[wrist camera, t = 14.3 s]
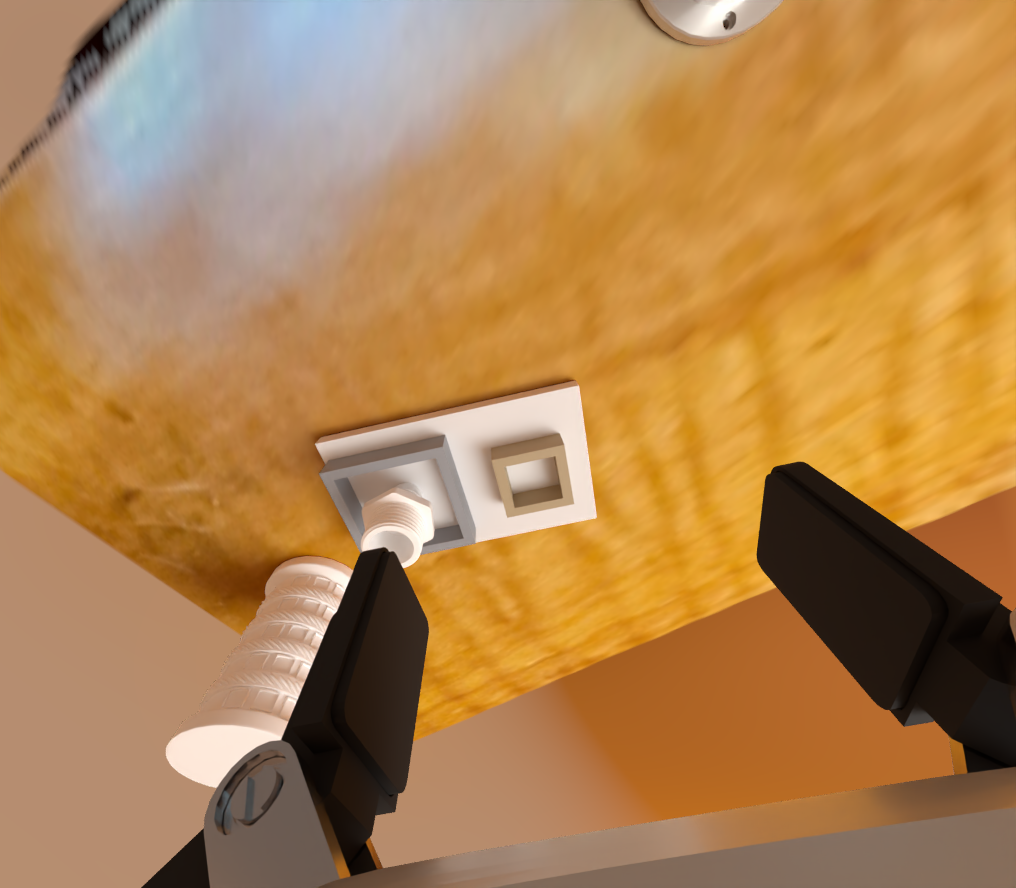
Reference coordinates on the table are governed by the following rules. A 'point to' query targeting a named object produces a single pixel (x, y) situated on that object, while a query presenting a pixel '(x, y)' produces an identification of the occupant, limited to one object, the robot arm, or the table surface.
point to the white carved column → (262, 671)
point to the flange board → (472, 466)
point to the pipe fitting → (398, 522)
